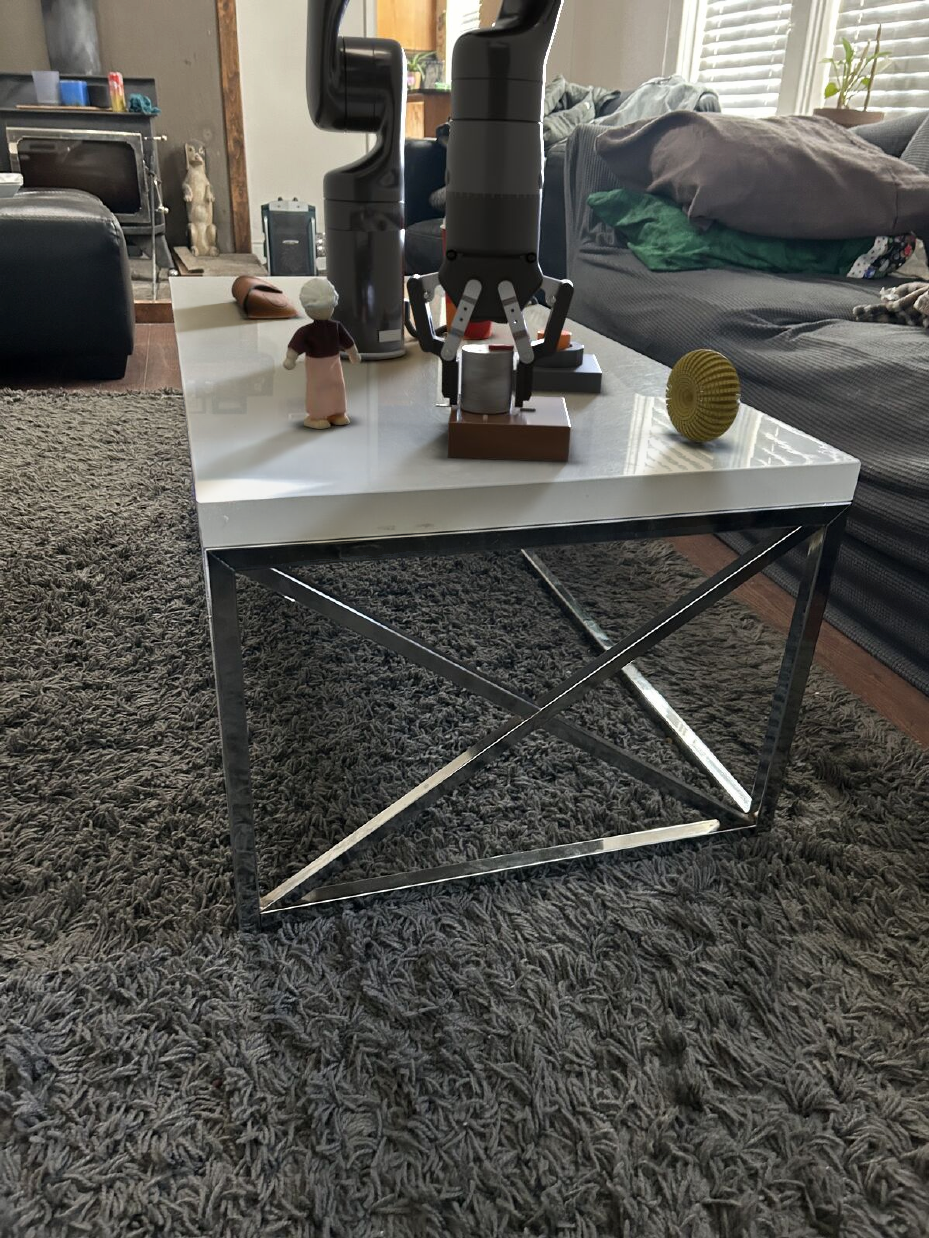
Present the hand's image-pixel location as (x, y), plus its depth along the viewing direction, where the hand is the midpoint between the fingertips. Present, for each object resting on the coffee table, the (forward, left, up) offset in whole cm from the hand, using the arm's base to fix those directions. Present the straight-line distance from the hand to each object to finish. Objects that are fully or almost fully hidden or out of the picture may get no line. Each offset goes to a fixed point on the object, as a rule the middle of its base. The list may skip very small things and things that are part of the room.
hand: (485, 403), depth 82 cm
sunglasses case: (-68, -35, -4) cm, 77 cm away
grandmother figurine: (-4, -15, -4) cm, 16 cm away
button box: (-25, +7, -3) cm, 26 cm away
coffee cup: (-52, -3, -4) cm, 52 cm away
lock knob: (0, 0, 0) cm, 0 cm away
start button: (-25, +7, 0) cm, 26 cm away
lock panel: (0, +2, -3) cm, 4 cm away
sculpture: (-3, +19, -4) cm, 20 cm away
